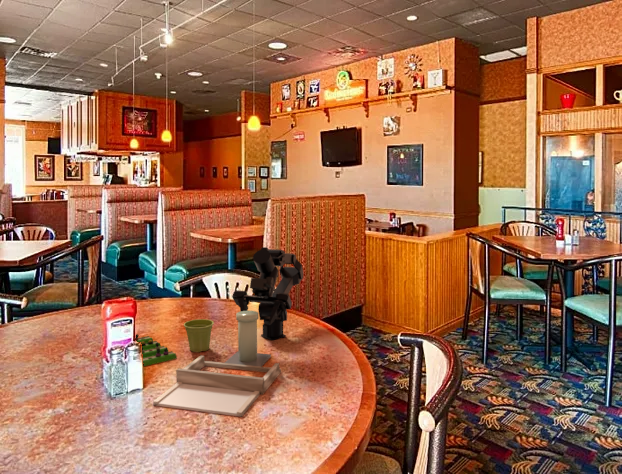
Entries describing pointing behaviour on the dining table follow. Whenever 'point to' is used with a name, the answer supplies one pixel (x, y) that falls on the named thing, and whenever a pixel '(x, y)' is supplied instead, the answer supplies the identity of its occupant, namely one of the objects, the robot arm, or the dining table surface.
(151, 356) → the toy garden set
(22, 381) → the dining table surface
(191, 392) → the frame lid
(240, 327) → the pale lidded canister
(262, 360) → the slate pad
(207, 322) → the plant pot
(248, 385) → the frame
